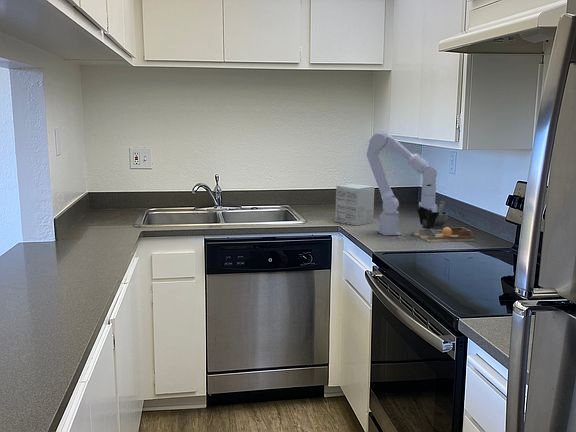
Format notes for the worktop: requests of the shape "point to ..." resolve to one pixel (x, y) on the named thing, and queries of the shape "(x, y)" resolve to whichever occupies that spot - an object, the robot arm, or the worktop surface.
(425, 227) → the kicker
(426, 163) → the robot arm
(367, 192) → the supplement box
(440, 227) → the mortar and pestle
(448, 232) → the ball
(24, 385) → the worktop surface
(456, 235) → the pitch
